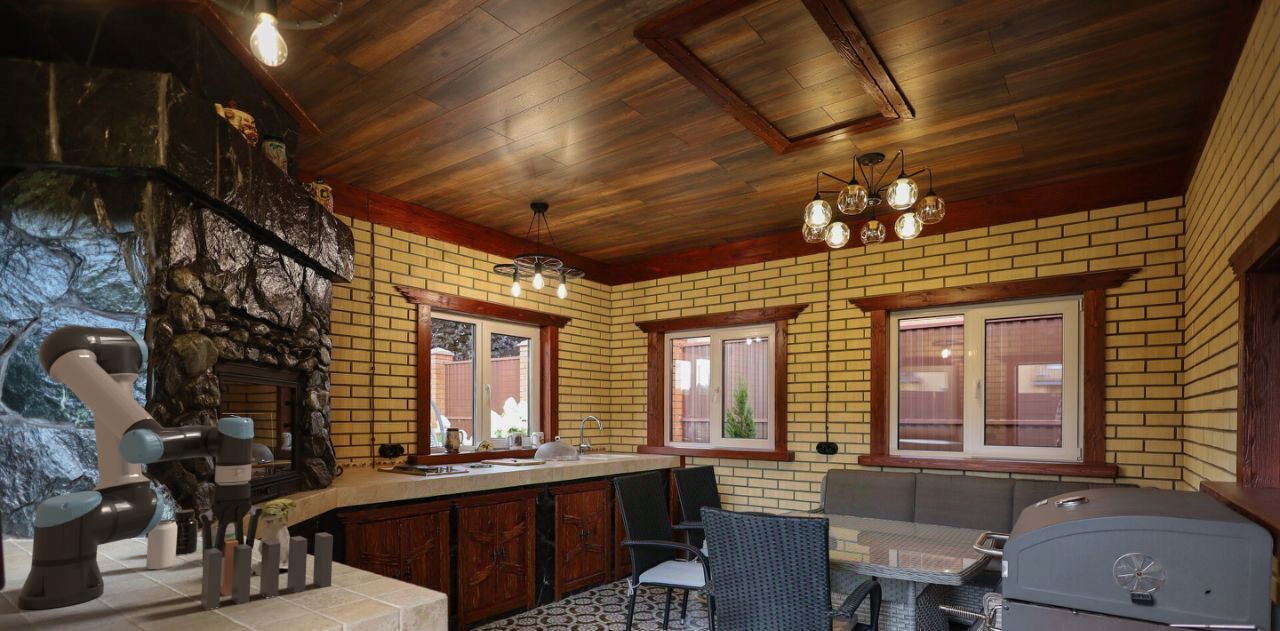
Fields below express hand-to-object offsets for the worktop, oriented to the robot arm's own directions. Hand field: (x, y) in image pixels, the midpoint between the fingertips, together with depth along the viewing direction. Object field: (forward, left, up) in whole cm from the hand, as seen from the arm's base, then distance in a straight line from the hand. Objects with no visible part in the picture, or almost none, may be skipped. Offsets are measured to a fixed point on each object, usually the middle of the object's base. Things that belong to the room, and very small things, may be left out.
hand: (227, 583), depth 164 cm
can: (-6, +39, -2) cm, 40 cm away
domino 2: (0, 0, -2) cm, 2 cm away
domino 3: (+1, -9, -2) cm, 9 cm away
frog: (+16, +15, -2) cm, 22 cm away
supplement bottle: (+2, +54, -2) cm, 54 cm away
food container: (+8, +34, -2) cm, 35 cm away
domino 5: (+13, -9, -2) cm, 16 cm away
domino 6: (+19, -9, -2) cm, 21 cm away
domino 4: (+7, -9, -2) cm, 11 cm away
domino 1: (-5, -9, -2) cm, 11 cm away
